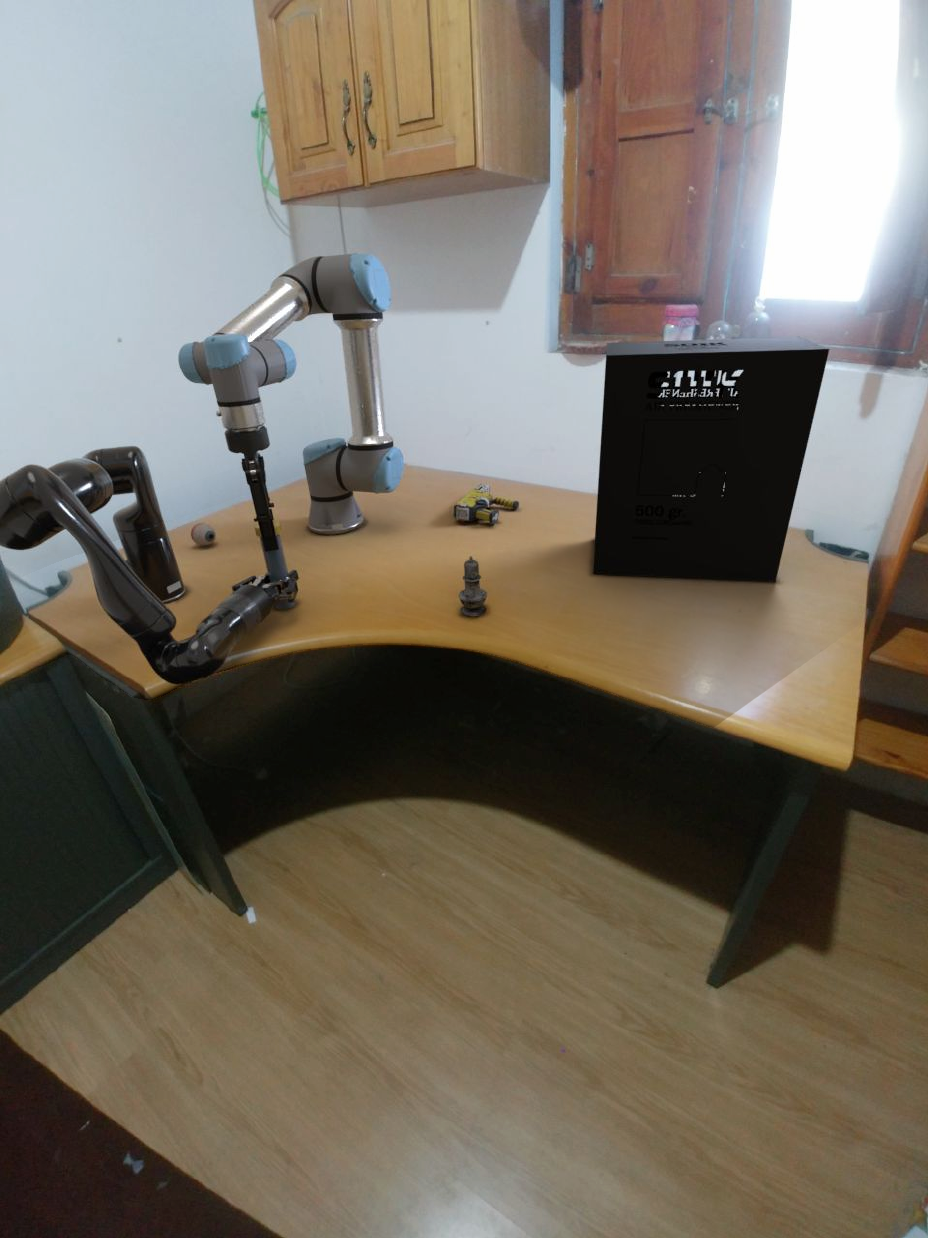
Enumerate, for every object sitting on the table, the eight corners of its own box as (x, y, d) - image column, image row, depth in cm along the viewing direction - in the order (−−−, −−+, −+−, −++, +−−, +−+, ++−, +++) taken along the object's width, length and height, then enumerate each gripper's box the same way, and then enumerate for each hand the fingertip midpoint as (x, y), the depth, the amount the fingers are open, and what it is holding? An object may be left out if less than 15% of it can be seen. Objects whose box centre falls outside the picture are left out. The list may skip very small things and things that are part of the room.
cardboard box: (755, 543, 144) (798, 336, 121) (775, 581, 127) (829, 348, 104) (594, 538, 151) (606, 342, 129) (592, 573, 134) (606, 355, 112)
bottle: (286, 599, 132) (269, 523, 123) (298, 603, 130) (282, 526, 121) (271, 606, 129) (253, 529, 120) (284, 611, 127) (266, 533, 118)
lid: (286, 532, 121) (284, 523, 120) (262, 539, 118) (260, 530, 117) (275, 526, 124) (273, 517, 123) (252, 533, 121) (250, 524, 120)
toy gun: (527, 488, 179) (479, 481, 183) (505, 513, 159) (452, 504, 162) (525, 503, 181) (478, 496, 185) (503, 529, 161) (451, 520, 165)
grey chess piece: (485, 617, 120) (483, 562, 114) (456, 616, 121) (452, 561, 115) (490, 603, 125) (488, 550, 119) (462, 602, 126) (459, 549, 120)
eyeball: (204, 551, 157) (198, 529, 154) (189, 547, 160) (183, 525, 157) (223, 542, 162) (217, 521, 159) (208, 539, 165) (202, 518, 162)
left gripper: (271, 597, 111) (313, 558, 125) (204, 592, 114) (252, 555, 128) (280, 632, 114) (319, 590, 129) (214, 626, 118) (260, 586, 132)
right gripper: (225, 420, 117) (252, 532, 129) (221, 440, 102) (252, 565, 114) (265, 416, 119) (288, 527, 131) (266, 435, 104) (292, 558, 116)
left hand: (285, 573), depth 128 cm, fingers closed on bottle, 4 cm apart
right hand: (271, 544), depth 122 cm, fingers closed on lid, 5 cm apart
